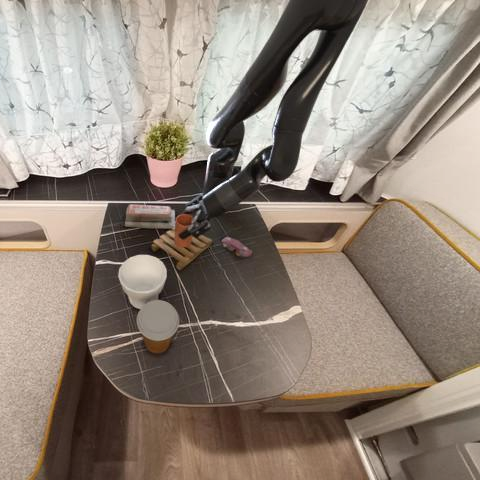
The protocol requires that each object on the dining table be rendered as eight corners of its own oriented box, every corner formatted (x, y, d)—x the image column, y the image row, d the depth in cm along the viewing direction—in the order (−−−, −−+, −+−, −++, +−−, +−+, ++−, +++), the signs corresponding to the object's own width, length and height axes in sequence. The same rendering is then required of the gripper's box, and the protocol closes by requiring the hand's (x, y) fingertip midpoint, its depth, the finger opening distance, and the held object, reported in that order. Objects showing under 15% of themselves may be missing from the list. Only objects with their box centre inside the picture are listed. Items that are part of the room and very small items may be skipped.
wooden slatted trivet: (182, 226, 99) (183, 220, 96) (211, 244, 92) (212, 238, 90) (151, 249, 90) (151, 242, 88) (180, 271, 84) (181, 264, 82)
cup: (161, 320, 72) (162, 296, 64) (115, 311, 74) (111, 288, 66) (168, 282, 81) (170, 258, 73) (128, 275, 82) (125, 251, 74)
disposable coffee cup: (139, 322, 72) (138, 297, 63) (175, 324, 71) (179, 299, 63) (136, 359, 65) (134, 336, 56) (176, 361, 65) (180, 338, 56)
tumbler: (181, 232, 92) (184, 211, 86) (195, 241, 89) (198, 220, 83) (170, 240, 89) (171, 220, 83) (183, 250, 86) (186, 229, 80)
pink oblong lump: (220, 248, 93) (218, 240, 87) (228, 238, 94) (226, 229, 88) (245, 264, 89) (245, 256, 83) (253, 253, 89) (254, 245, 83)
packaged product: (123, 217, 94) (127, 199, 101) (124, 227, 97) (128, 210, 104) (175, 219, 94) (175, 202, 101) (174, 229, 97) (174, 212, 104)
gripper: (211, 176, 80) (170, 207, 88) (219, 207, 70) (172, 238, 78) (225, 191, 84) (185, 219, 92) (235, 222, 74) (189, 250, 82)
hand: (179, 228), depth 85 cm, fingers open, 8 cm apart
